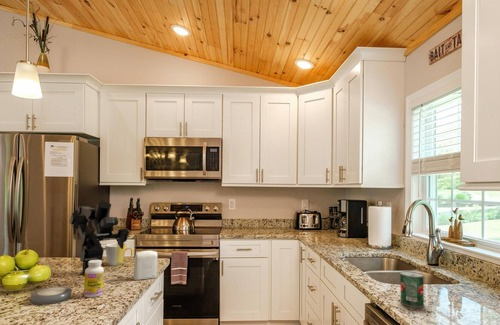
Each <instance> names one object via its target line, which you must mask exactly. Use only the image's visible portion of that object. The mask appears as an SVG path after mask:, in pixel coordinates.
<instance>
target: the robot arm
mask: <svg viewBox="0 0 500 325" xmlns="http://www.w3.org/2000/svg"><path fill="white" fill-rule="evenodd" d="M111 208H112V203H110V202H108V201H105V200H101V199H100V200H99V201H98V202H97V205H96V208H95V207H93V208H92V207H90V206H89V205H82V206H78V207H77V209H76V210H74V212H72V213H71V215H70V217H69V225H71V227H72V228H73V229H74V230H77V232H78V234H79V237H80V238H81V245H82V246H83V249H82V251H81V253H80V255H79V261H80V262H81V263H82V272H81V273H79V275H80V276H85V270H86V269H87V268H88V267H89V265H88V262H89V261H91V260H101V261H102V260H103V256H104V251H105V250H104V248H103V246H102V243H101V242H104V241H110V240H116V243H117V244H118V245H119V246H120V248H121V249H123V246H124V243H126V242H127V241H128V237H129V234H130V231H129V229H128V228H120V229H118V230H117V233H113V232H114V226H117V225H118V224H119V222H120V221H119V218H118V217H117V216H109V215H110V211H111ZM89 222H91V224H92V227H91V228H92V230H93V231H91V230H90V228H89V224H90V223H89Z"/></svg>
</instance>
